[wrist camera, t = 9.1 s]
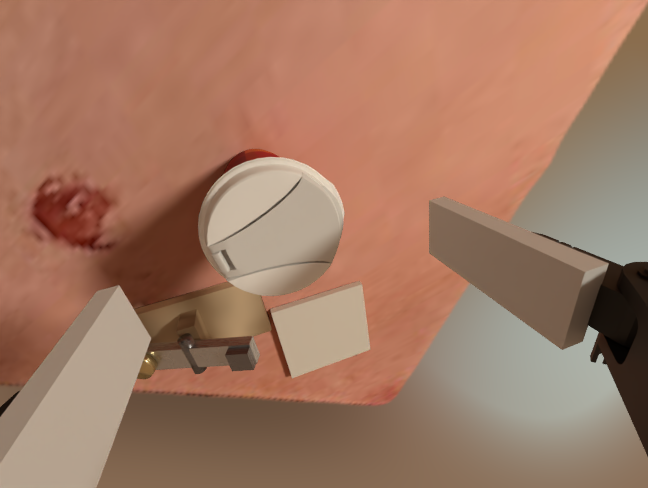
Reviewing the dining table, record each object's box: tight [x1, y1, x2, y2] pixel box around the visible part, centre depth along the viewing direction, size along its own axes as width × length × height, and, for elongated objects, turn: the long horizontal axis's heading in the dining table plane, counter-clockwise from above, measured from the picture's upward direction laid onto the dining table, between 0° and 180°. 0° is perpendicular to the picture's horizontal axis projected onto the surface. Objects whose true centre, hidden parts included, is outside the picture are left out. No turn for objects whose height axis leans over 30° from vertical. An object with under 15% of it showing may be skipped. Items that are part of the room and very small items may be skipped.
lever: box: [137, 333, 260, 379], centre depth 26 cm, size 12×4×2 cm, turn 100°
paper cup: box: [198, 149, 344, 296], centre depth 20 cm, size 8×8×14 cm
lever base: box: [134, 282, 271, 344], centre depth 29 cm, size 14×7×4 cm, turn 100°
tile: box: [270, 281, 370, 378], centre depth 36 cm, size 11×11×1 cm
